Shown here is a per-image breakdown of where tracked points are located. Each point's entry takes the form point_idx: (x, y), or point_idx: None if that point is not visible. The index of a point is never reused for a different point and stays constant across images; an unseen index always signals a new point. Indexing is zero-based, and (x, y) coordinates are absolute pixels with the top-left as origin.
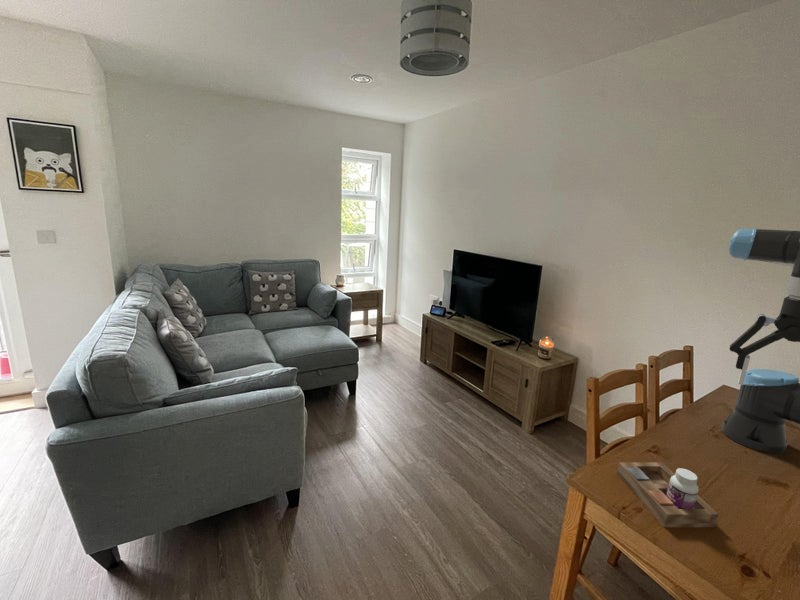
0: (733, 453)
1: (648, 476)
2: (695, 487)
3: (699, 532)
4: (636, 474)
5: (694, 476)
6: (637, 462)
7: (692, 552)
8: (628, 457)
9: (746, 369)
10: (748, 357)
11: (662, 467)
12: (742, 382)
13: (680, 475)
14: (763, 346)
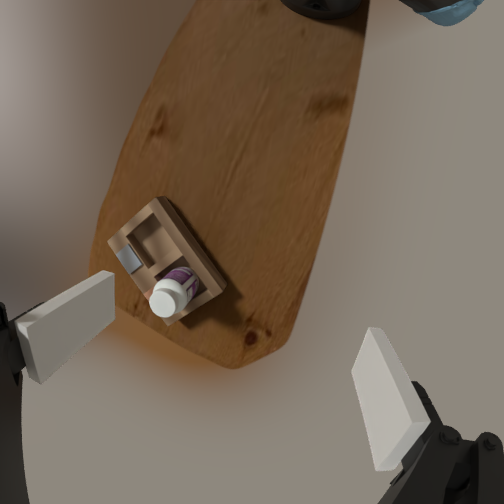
0: (283, 47)
1: (148, 226)
2: (180, 306)
3: (209, 304)
4: (127, 263)
5: (171, 305)
6: (126, 223)
7: (202, 340)
8: (126, 180)
9: (73, 354)
10: (33, 369)
11: (156, 213)
12: (107, 324)
13: (155, 313)
14: (19, 450)
